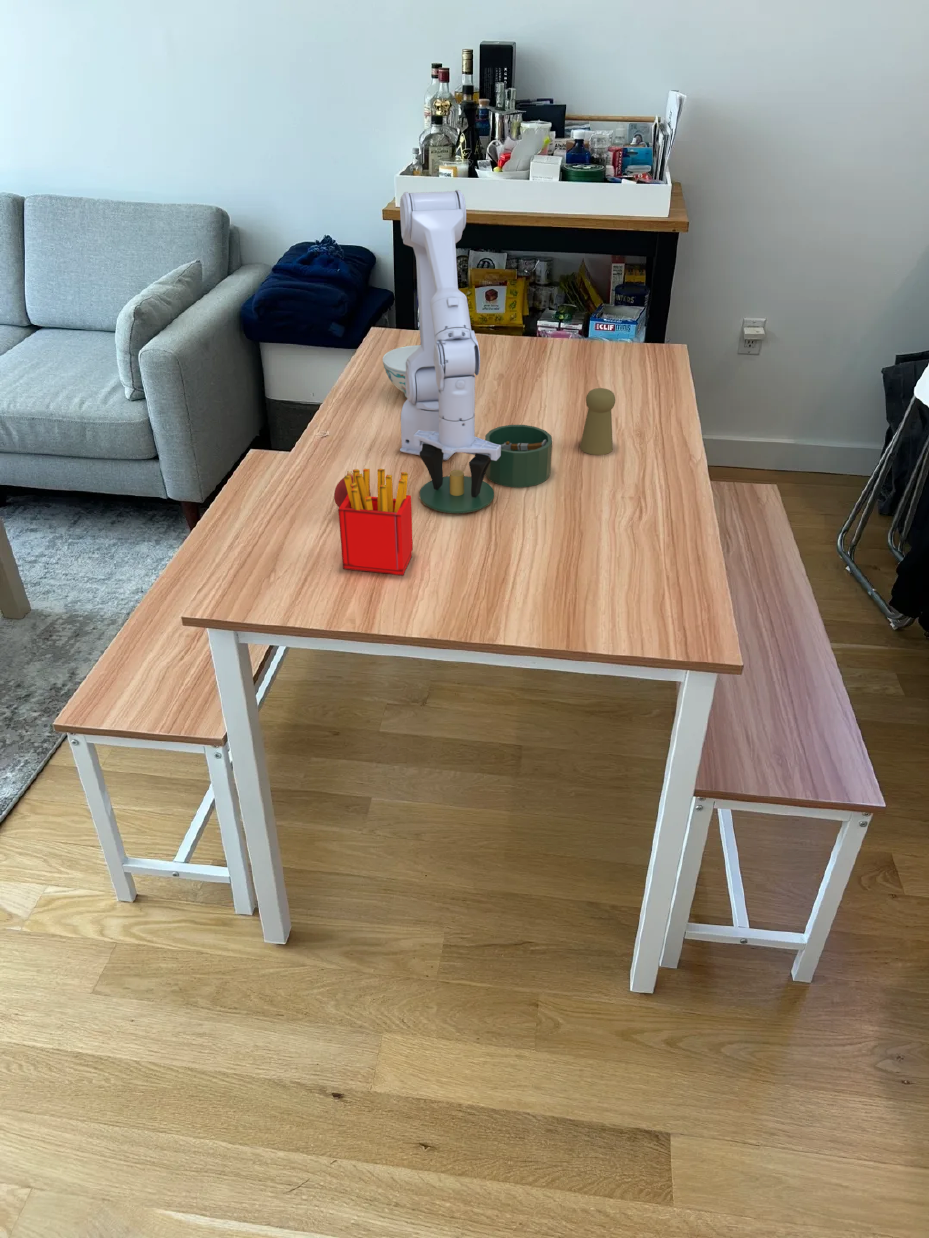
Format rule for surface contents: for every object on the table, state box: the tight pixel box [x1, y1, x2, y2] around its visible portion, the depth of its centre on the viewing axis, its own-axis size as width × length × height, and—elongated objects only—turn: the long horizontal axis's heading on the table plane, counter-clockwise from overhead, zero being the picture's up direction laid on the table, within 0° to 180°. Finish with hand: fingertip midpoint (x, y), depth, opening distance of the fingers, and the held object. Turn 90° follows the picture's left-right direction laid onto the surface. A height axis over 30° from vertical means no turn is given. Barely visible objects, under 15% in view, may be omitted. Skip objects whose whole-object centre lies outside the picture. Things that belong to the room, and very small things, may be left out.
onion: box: [333, 470, 372, 509], centre depth 153 cm, size 6×6×8 cm
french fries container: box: [337, 468, 414, 576], centre depth 140 cm, size 7×9×14 cm
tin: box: [484, 424, 553, 488], centre depth 167 cm, size 11×11×6 cm
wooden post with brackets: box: [501, 440, 547, 451], centre depth 166 cm, size 2×8×4 cm, turn 72°
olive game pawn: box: [579, 387, 616, 456], centre depth 173 cm, size 6×6×11 cm
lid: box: [419, 469, 495, 514], centre depth 159 cm, size 12×12×5 cm
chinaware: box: [382, 344, 428, 399], centre depth 194 cm, size 15×15×8 cm
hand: (456, 491), depth 160 cm, fingers open, 6 cm apart
